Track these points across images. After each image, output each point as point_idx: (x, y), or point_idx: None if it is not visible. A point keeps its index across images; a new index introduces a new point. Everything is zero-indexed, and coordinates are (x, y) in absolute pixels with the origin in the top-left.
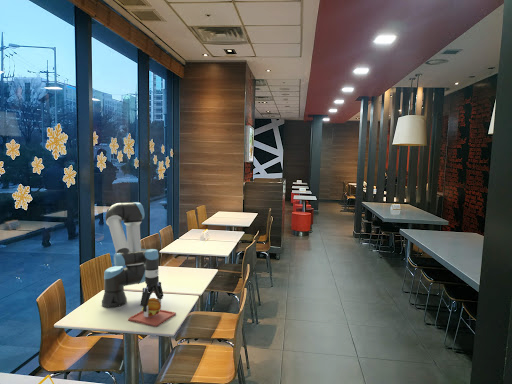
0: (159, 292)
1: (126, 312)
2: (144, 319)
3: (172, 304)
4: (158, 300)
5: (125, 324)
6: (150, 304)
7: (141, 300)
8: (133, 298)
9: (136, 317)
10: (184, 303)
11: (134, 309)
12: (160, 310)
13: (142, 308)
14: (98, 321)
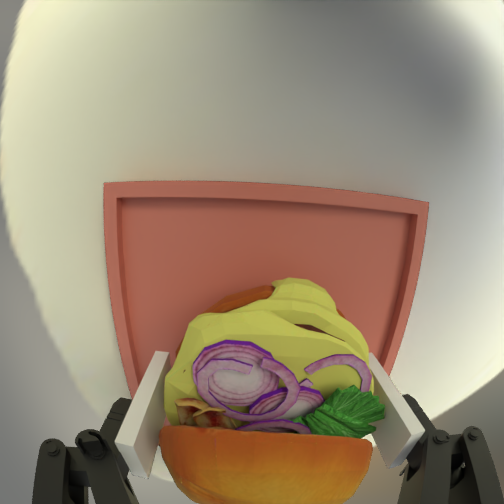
0: (462, 492)
1: (277, 34)
2: (175, 332)
3: (494, 307)
4: (390, 447)
5: (59, 219)
6: (184, 492)
7: (36, 497)
8: (474, 10)
9: (176, 229)
10: (496, 353)
11: (367, 65)
12: (389, 345)
13: (194, 333)
14: (62, 13)
